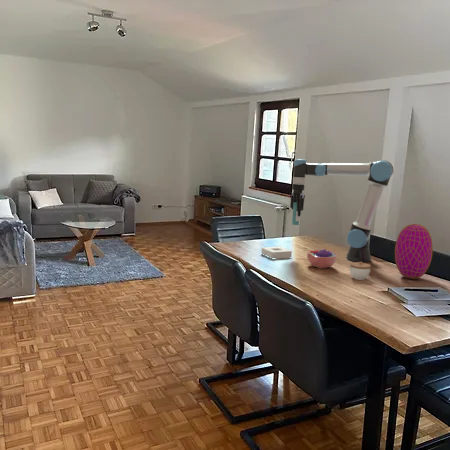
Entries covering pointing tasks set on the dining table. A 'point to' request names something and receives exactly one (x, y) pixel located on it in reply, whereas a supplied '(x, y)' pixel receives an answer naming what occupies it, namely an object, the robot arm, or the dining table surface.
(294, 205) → the peg
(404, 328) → the dining table surface
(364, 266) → the lidded jar
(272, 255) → the socket block
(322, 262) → the cell model
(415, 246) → the decorative egg
